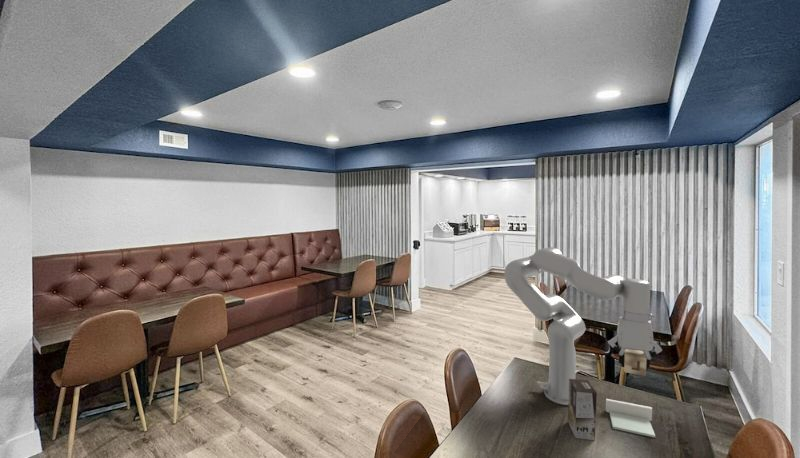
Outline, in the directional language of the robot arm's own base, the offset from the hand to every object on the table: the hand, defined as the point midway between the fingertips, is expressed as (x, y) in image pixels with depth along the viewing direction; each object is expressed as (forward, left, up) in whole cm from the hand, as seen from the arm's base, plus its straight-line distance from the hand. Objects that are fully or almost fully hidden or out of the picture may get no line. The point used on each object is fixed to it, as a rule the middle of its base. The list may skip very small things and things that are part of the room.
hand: (633, 366), depth 120 cm
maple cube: (0, 0, -1) cm, 1 cm away
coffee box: (-16, -10, -21) cm, 29 cm away
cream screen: (0, +6, -21) cm, 22 cm away
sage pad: (0, 0, -21) cm, 21 cm away
